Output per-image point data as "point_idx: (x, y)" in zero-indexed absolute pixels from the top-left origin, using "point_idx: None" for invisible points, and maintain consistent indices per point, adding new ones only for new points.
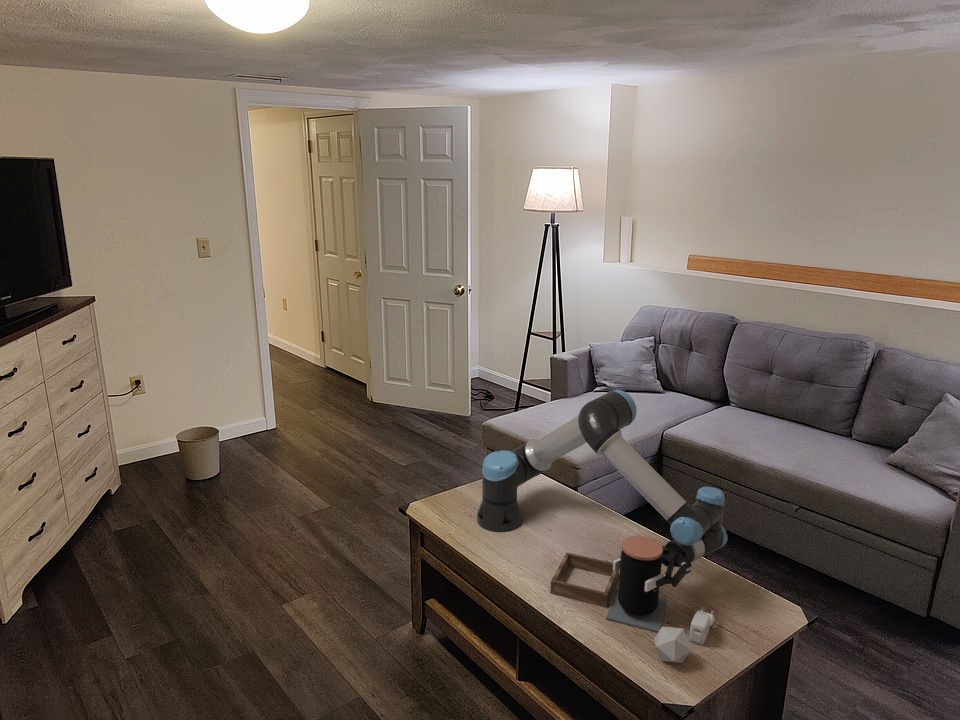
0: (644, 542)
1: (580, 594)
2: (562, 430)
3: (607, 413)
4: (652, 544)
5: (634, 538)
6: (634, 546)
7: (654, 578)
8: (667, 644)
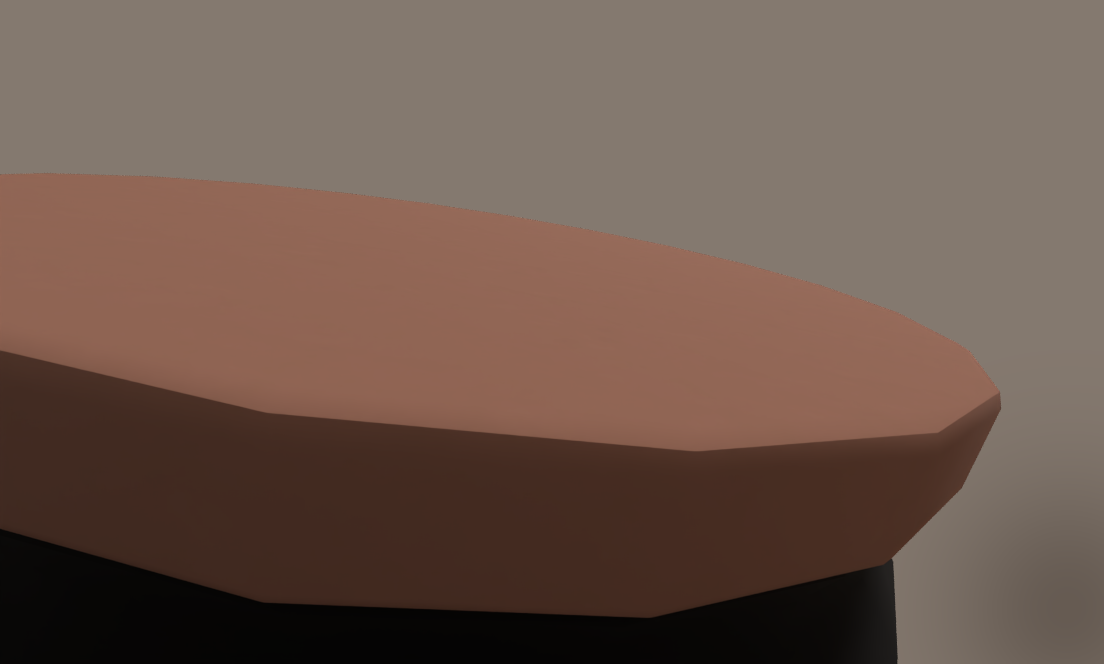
0: (524, 281)
1: None
2: None
3: None
4: (258, 258)
5: (837, 327)
6: (582, 247)
7: None
8: None
